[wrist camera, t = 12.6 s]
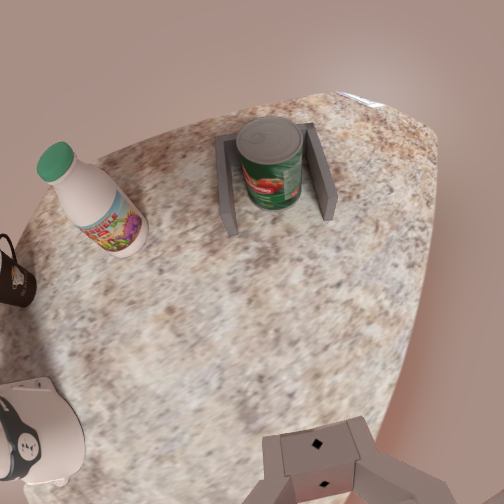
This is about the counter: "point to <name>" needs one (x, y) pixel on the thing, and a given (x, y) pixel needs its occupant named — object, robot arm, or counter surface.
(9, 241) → the coffee mug
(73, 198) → the milk bottle
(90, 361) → the counter surface
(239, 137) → the canned tomato
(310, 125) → the box
